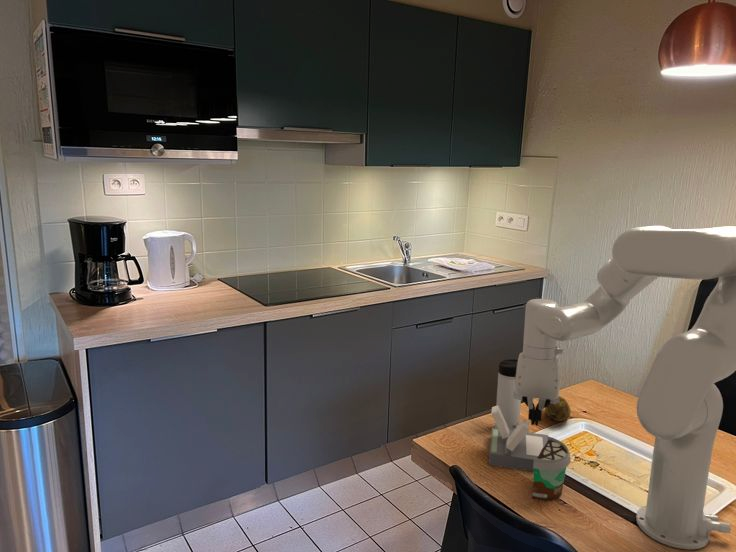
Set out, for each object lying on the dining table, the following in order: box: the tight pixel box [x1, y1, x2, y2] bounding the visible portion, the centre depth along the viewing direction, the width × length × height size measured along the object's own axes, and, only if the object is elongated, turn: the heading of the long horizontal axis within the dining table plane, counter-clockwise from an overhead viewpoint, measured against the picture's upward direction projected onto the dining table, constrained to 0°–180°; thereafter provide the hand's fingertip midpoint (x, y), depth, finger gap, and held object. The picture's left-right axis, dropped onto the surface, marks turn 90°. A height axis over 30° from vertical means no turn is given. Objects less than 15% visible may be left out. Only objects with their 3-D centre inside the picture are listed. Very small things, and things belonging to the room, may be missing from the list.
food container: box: [531, 435, 571, 502], centre depth 118 cm, size 12×6×10 cm, turn 148°
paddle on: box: [491, 405, 509, 443], centre depth 136 cm, size 2×4×8 cm, turn 165°
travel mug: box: [494, 358, 522, 431], centre depth 145 cm, size 6×7×20 cm
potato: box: [544, 396, 572, 422], centre depth 153 cm, size 8×13×8 cm, turn 142°
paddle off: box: [505, 418, 530, 455], centre depth 129 cm, size 2×4×8 cm, turn 165°
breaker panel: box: [488, 427, 549, 472], centre depth 134 cm, size 14×14×3 cm
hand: (534, 422), depth 133 cm, fingers closed
